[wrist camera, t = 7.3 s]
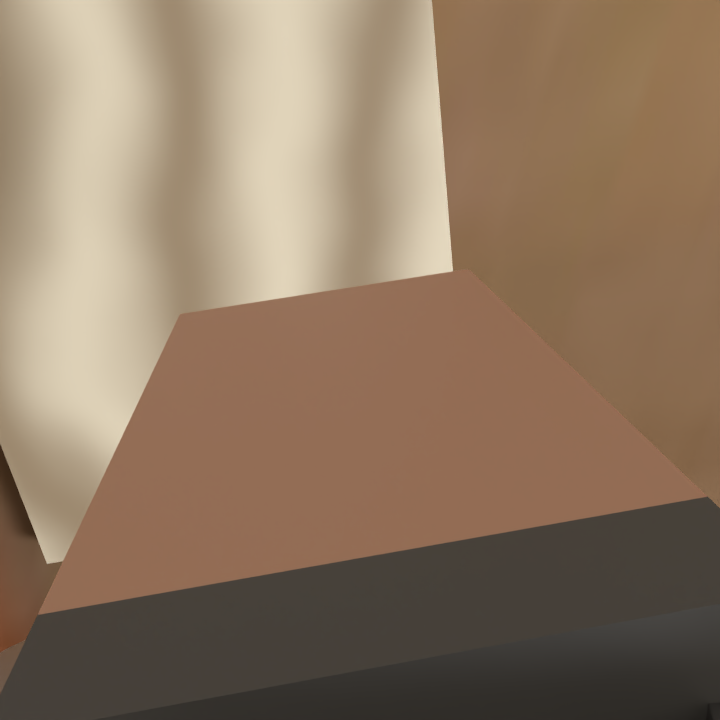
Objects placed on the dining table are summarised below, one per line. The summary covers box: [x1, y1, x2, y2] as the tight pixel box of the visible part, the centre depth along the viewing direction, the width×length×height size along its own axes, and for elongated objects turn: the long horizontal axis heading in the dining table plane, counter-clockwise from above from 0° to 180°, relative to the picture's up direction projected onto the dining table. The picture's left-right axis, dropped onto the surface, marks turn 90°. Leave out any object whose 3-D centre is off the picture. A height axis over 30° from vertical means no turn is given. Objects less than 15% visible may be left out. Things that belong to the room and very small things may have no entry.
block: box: [0, 269, 720, 720], centre depth 9 cm, size 5×5×8 cm
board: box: [0, 0, 453, 564], centre depth 24 cm, size 18×22×2 cm
